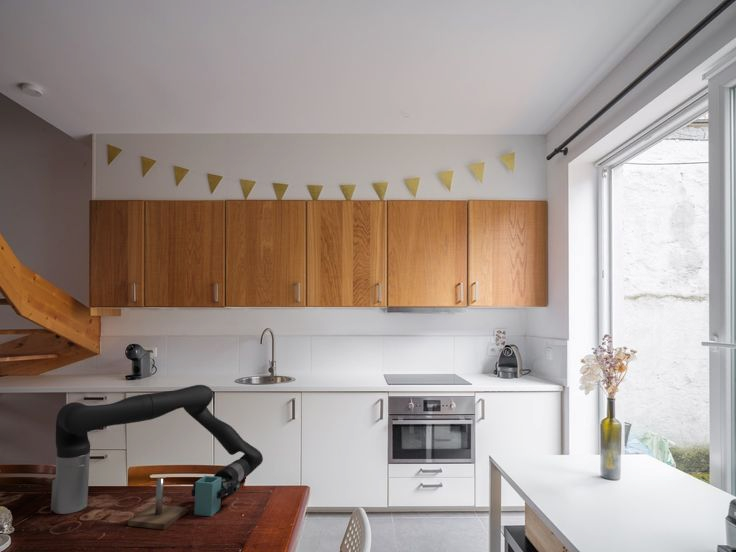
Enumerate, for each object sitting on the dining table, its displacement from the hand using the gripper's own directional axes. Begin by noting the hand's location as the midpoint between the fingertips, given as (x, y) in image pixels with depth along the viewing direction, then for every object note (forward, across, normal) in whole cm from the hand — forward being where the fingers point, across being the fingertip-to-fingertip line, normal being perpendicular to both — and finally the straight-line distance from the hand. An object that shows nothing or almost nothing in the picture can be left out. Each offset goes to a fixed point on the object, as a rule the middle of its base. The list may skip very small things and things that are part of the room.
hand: (205, 494), depth 152 cm
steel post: (+6, -12, +5) cm, 14 cm away
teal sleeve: (-2, 0, +6) cm, 6 cm away
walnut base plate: (+6, -12, +6) cm, 15 cm away
